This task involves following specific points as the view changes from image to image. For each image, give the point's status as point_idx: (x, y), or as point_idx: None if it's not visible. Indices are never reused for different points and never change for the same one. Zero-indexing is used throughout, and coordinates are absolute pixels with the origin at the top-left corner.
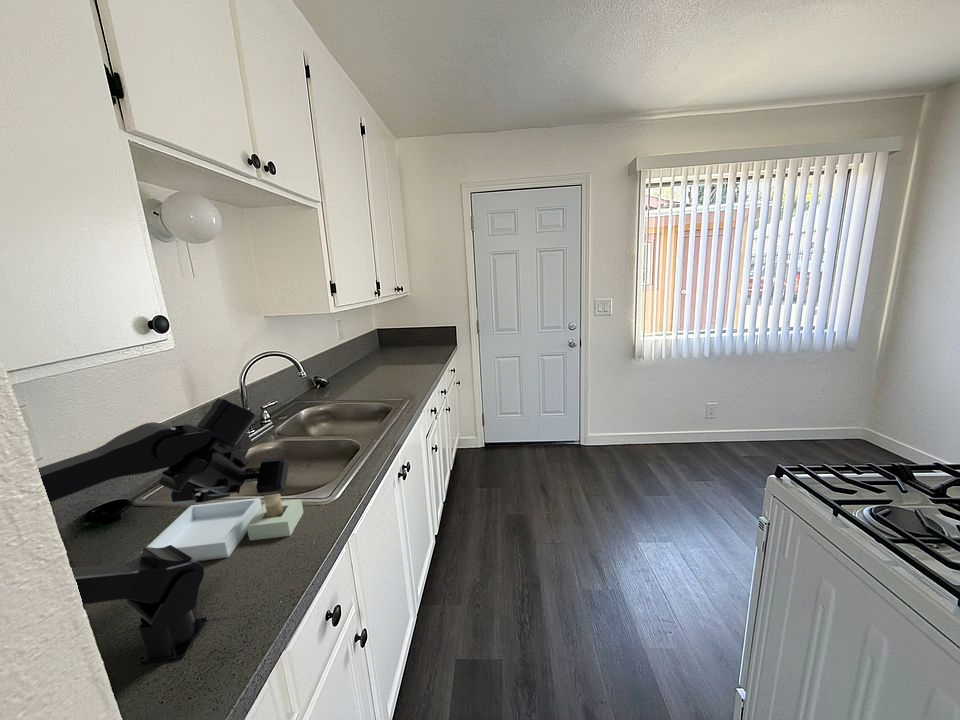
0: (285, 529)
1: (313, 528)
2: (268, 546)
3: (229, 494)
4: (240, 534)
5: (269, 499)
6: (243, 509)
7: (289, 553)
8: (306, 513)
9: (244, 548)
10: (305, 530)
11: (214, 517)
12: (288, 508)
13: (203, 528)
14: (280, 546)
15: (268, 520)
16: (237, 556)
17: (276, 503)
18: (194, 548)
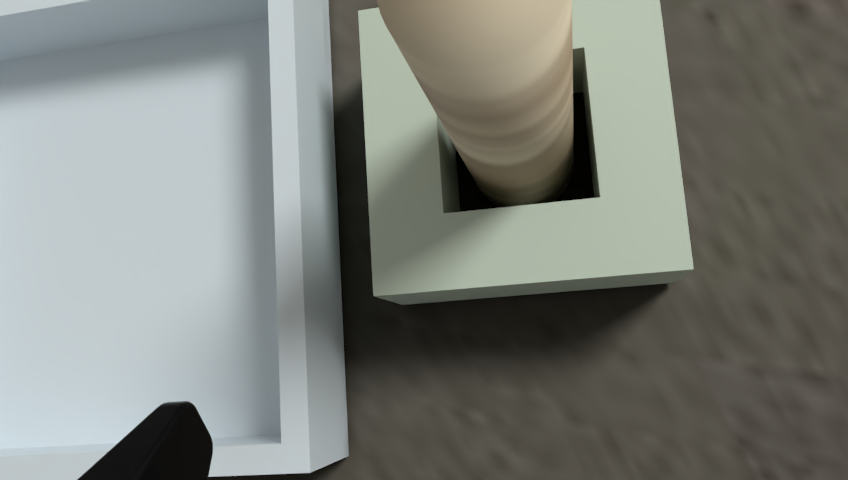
0: (655, 278)
1: (814, 206)
2: (561, 371)
3: (203, 444)
4: (328, 283)
5: (511, 144)
6: (208, 15)
7: (760, 467)
8: (667, 29)
9: (403, 371)
10: (758, 224)
11: (59, 69)
12: (607, 90)
13: (51, 176)
14: (651, 382)
15: (514, 238)
16: (398, 445)
17: (559, 136)
18: None
